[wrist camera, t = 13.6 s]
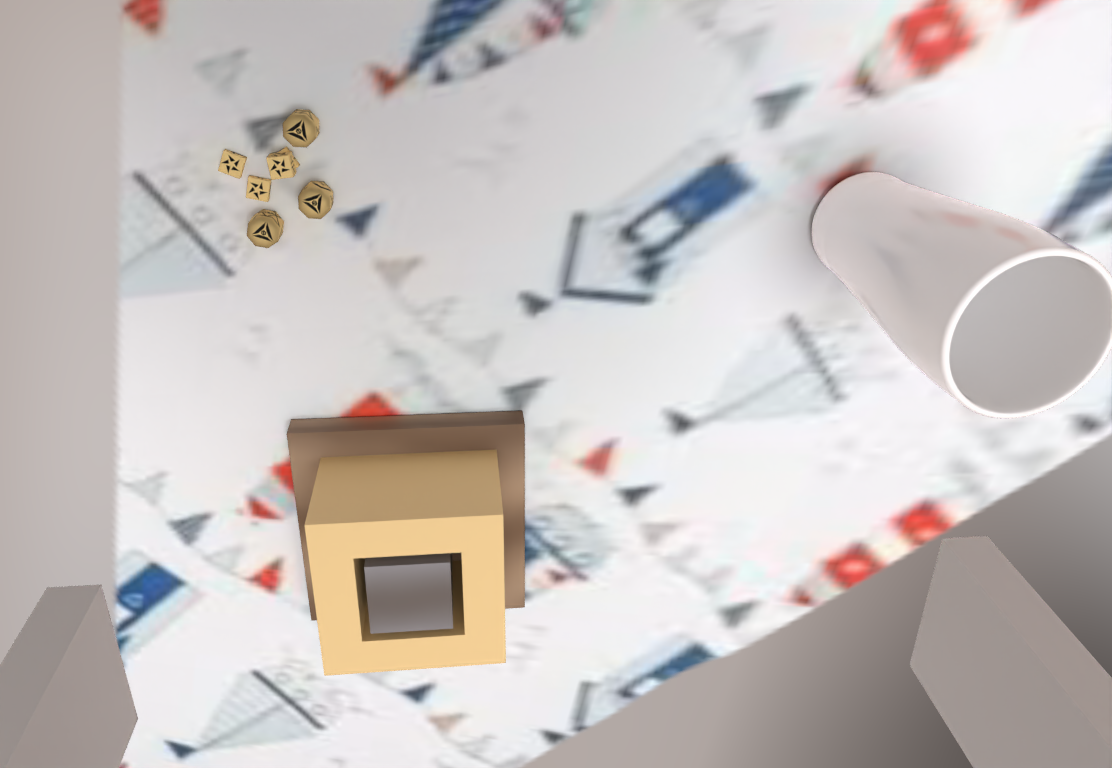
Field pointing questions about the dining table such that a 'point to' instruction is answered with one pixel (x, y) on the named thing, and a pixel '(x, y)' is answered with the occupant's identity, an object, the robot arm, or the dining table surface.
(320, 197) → the dice set
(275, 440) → the dining table surface
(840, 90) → the dining table surface
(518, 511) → the post base
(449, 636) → the collar
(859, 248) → the drinking glass
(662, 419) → the dining table surface
